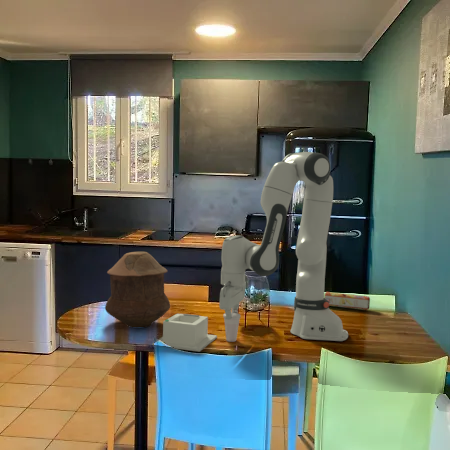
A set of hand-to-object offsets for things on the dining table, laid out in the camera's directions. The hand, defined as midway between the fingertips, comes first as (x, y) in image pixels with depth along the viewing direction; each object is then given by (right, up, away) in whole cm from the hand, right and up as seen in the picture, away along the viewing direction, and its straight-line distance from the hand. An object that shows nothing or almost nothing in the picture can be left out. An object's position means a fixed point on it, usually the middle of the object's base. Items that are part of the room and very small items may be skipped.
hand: (231, 316), depth 193 cm
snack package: (+61, -1, +49) cm, 78 cm away
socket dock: (-17, -9, -2) cm, 19 cm away
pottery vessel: (-37, -7, +16) cm, 41 cm away
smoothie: (0, -9, +1) cm, 9 cm away
